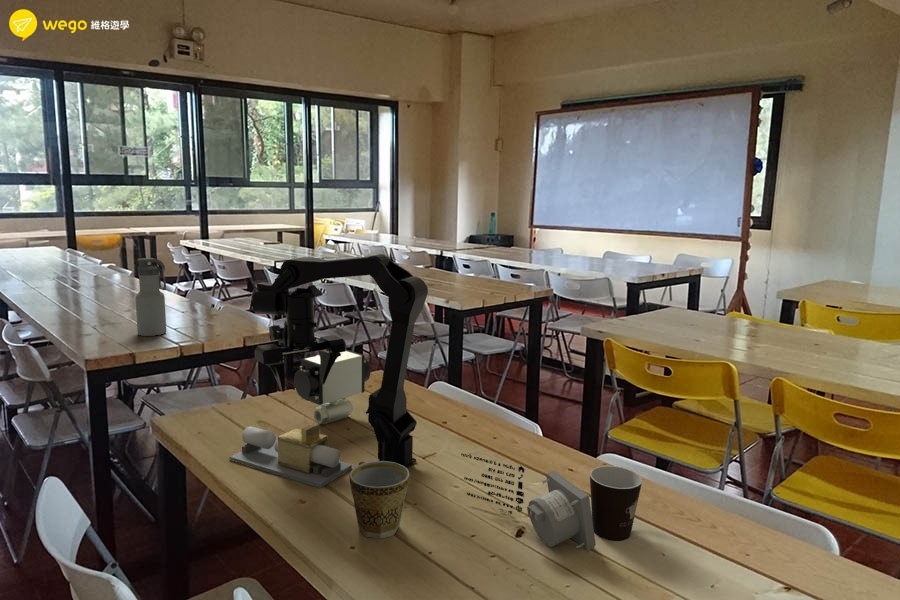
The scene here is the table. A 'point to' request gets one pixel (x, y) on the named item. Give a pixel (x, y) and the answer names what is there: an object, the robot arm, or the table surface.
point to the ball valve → (332, 385)
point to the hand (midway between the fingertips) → (302, 387)
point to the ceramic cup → (379, 496)
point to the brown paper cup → (614, 501)
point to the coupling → (300, 447)
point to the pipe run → (265, 457)
